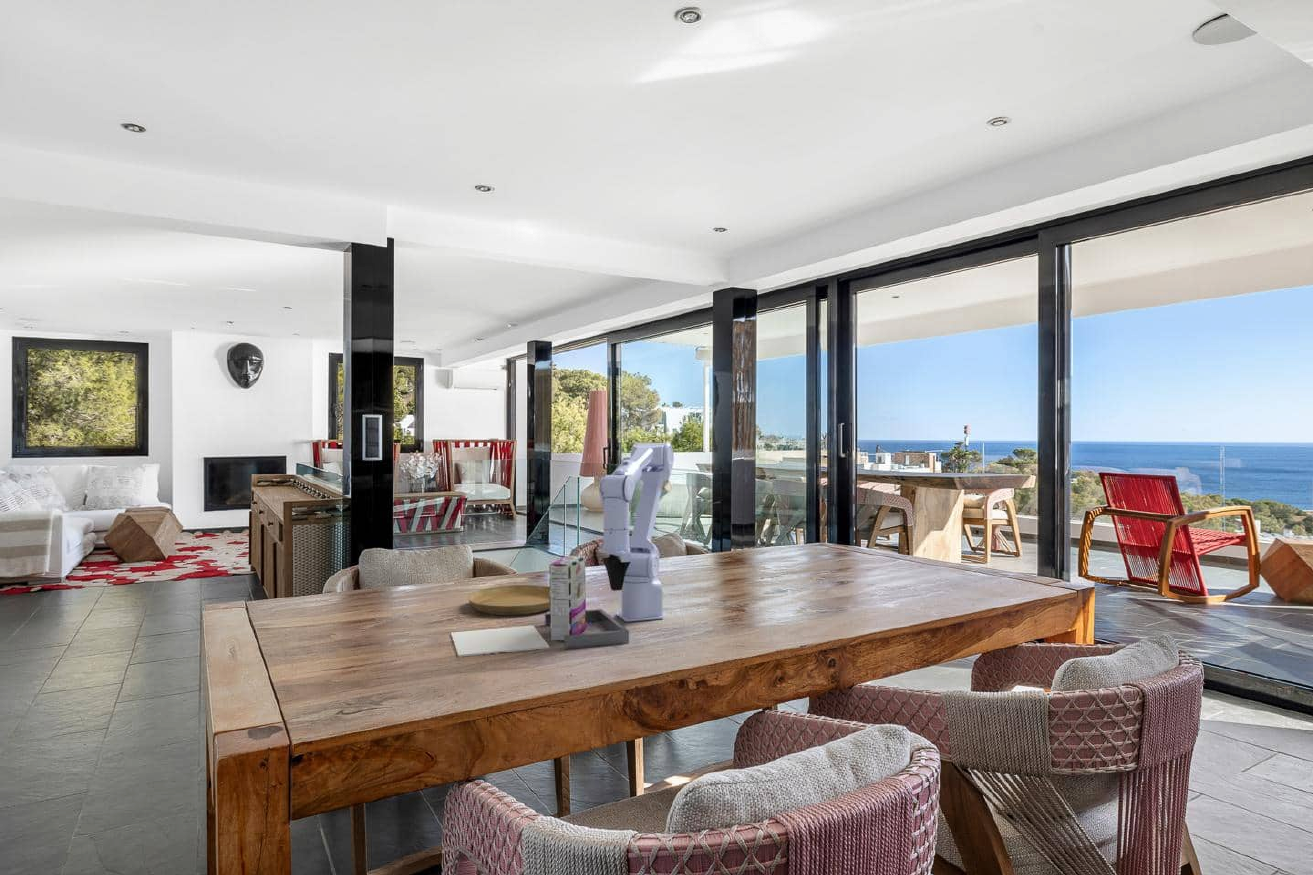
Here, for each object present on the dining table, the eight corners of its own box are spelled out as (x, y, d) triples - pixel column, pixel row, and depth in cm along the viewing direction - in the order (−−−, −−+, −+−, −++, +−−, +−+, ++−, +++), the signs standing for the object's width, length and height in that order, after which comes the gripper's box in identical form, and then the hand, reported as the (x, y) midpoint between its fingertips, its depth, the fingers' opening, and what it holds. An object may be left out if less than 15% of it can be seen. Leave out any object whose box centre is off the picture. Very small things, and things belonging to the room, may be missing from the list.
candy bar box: (565, 627, 170) (565, 555, 170) (586, 629, 169) (586, 556, 169) (548, 641, 159) (548, 563, 159) (571, 642, 158) (571, 564, 158)
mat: (533, 627, 170) (533, 625, 170) (549, 648, 153) (549, 646, 153) (450, 634, 164) (450, 632, 164) (458, 656, 147) (458, 654, 147)
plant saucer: (544, 620, 178) (544, 606, 178) (450, 615, 182) (450, 602, 182) (576, 599, 201) (576, 586, 201) (491, 595, 206) (491, 583, 206)
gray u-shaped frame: (601, 619, 177) (601, 608, 177) (628, 642, 157) (628, 630, 157) (544, 624, 173) (544, 613, 173) (565, 649, 153) (565, 636, 153)
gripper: (590, 525, 173) (590, 584, 173) (608, 533, 159) (608, 597, 159) (620, 524, 175) (619, 583, 175) (639, 531, 162) (639, 595, 162)
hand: (616, 589), depth 167 cm, fingers closed
